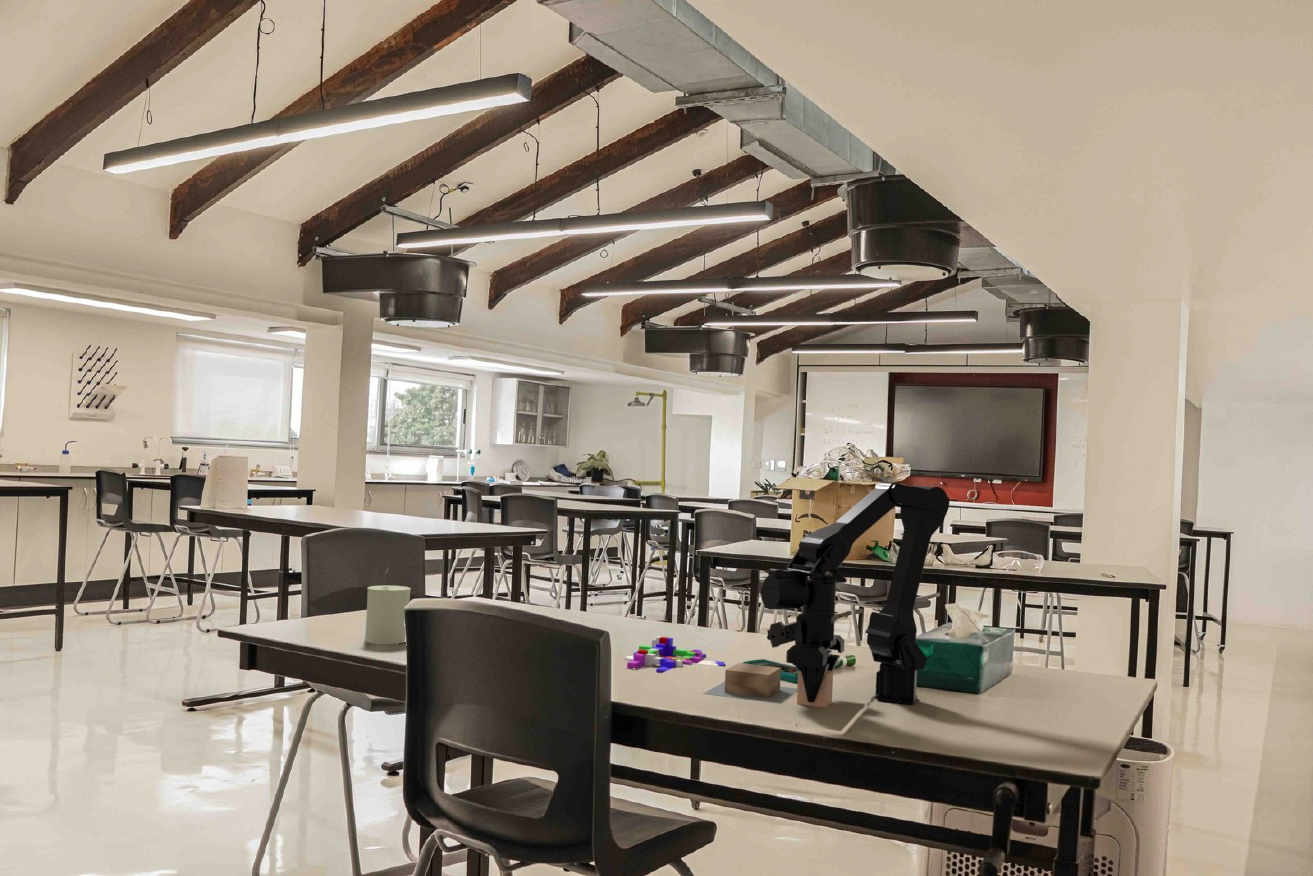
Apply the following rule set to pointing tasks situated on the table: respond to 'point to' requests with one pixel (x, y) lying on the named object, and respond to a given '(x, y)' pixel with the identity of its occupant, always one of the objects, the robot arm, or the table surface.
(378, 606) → the can
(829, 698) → the terracotta cube
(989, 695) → the table surface
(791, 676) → the digital multimeter
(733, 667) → the walnut base block
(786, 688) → the grey flat square plate
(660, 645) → the building block set
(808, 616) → the robot arm
